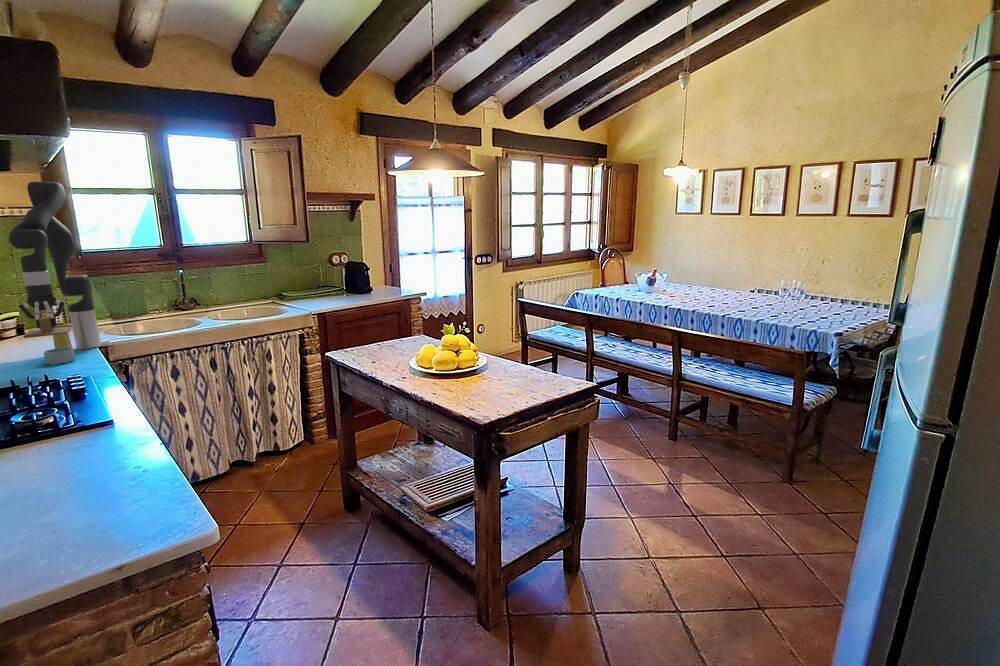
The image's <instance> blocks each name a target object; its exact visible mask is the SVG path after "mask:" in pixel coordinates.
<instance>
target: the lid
mask: <svg viewBox="0 0 1000 666" xmlns="http://www.w3.org/2000/svg"><path fill="white" fill-rule="evenodd" d="M50 319H51V318H50V316H44V317H43V316H42V317H40V319H39V322H40V327H41V329H40V328H37V329H32V330H31V329H30V330H29V331H27V332H26V333H25V334H24V335H23V338H24V339H28V338H29V339H30V338H38V337H47V336H48V337H49V336H53V335H59V334H67V333H69V332H70V331H71V329H72V325H69V326H68V325H67V327H58V328H52V325H51V320H50Z"/></svg>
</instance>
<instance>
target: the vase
mask: <svg viewBox="0 0 1000 666" xmlns="http://www.w3.org/2000/svg"><path fill="white" fill-rule="evenodd" d="M56 323H57V325H56V326H55V328H58V327H68V325H67V322H56ZM52 340H53V346H54V349H57V348H65V347H69V348H73V346H72V342H71V338H70V334H69V332H68V333H67V334H59V335H52Z"/></svg>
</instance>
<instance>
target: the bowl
mask: <svg viewBox="0 0 1000 666" xmlns="http://www.w3.org/2000/svg"><path fill="white" fill-rule="evenodd" d="M75 355H76V354H75V350H74V347H72V348H69V347H65V348H57V349H55V348H52V349H48V350H44V352H43V357H44V361H45V365H46V364H57V365H60V364H59V363H65V364H67V362H69V363H71V362H70V361H73V362H75V361H76V356H75ZM74 360H75V361H74Z"/></svg>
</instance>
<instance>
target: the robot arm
mask: <svg viewBox="0 0 1000 666" xmlns="http://www.w3.org/2000/svg"><path fill="white" fill-rule="evenodd" d="M26 190H27V193H28V197H29V200H30V202H31V204H32V208H31V209H30V210H28V212H26V214H25V216H24V218H23V219H22V222H20V223H19V224H18V225H16V226H14V227H13V229H11V230H10V232H9V235H8V242H9V244H10V245H11V246H12V247H13V248H15V249H19V250H31V249H33V250H34V251H33V253H32V254H27V255H24V256H21V257H20V264H21V270H22V273H23V276H22V277H23V285H24V287H25V292H26V296H27V300H26V302H24V303H21V304H19V305H18V308H19V309H21V311H22V312H23V313H24V315H25V316H26V317H27V318H28V319H30V320H31V319H32V320H35V324H36V327H37V329H41V327H40V322H39V319H41V311H46V312H47V314H48V316H49V317H50V318H51V319H50V320H51V325H52V328H55V326H56V325H57V323H58V322H57V319H56V318H57V317H59V316H60V315H62V312H63V309H64V308H65V303H66V301H65V300H59V299H57V298H56V296H54V290H53V285H52V281H51V280H52V279H51V276H50V274H49V271H48V267H47V261H46V258H47V257H46V255H47V249H48V252H49V255H50V257H51V260H52V263H53V267H54V271H55V274H56V275H55V276H56V279H57V285H58V287H59V289H60V292H61V294H62V295H63V296H64V297H77V296H78V297H81V296H82V298H81V299H80V300H79V301H76V302H74V303H71V304H69V305H68V307H67V308H68V313H69V318H70V324H71V329H72V332H73V339H74V343H75V349H76V350H89V348H91V349H94V348H93V347H96V348H100V347H101V346H102V341H101V337H100V332H99V331H100V330H99V324H98V320H97V315H96V311H95V310H96V309H95V303H94V297H93V290H92V282H91V278H90V277H89V276H88V275H87V274H74V275H73V274H72V275H71V274H70V275H68V273H67V269H68V265H69V263H70V261H71V259H72V257H73V256H74V254H75V252H76V244H75V241H74V237H73V235H72V232H71V231H70V229H68V228H67V226H65V225H64V224H63V223H62V222H60V221H59V220H58V219H57V218H56V217H55V214H57V213H58V211H59V210H60V209H61V208H62V206H64V204H65V202H66V200H67V199H66V198H67V197H66V196H67V194H66V193H67V192H66V190H65V188H64V185H62V184H61V183H59V182H56V181H30V182H29V183H28V184H27V189H26ZM55 304H56V306H58V308H57V311H56V312H55V311H54V309H53V306H55ZM29 306H30V307H31V308H32V309H34V314H33V313H32V312H31V310H29Z"/></svg>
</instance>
